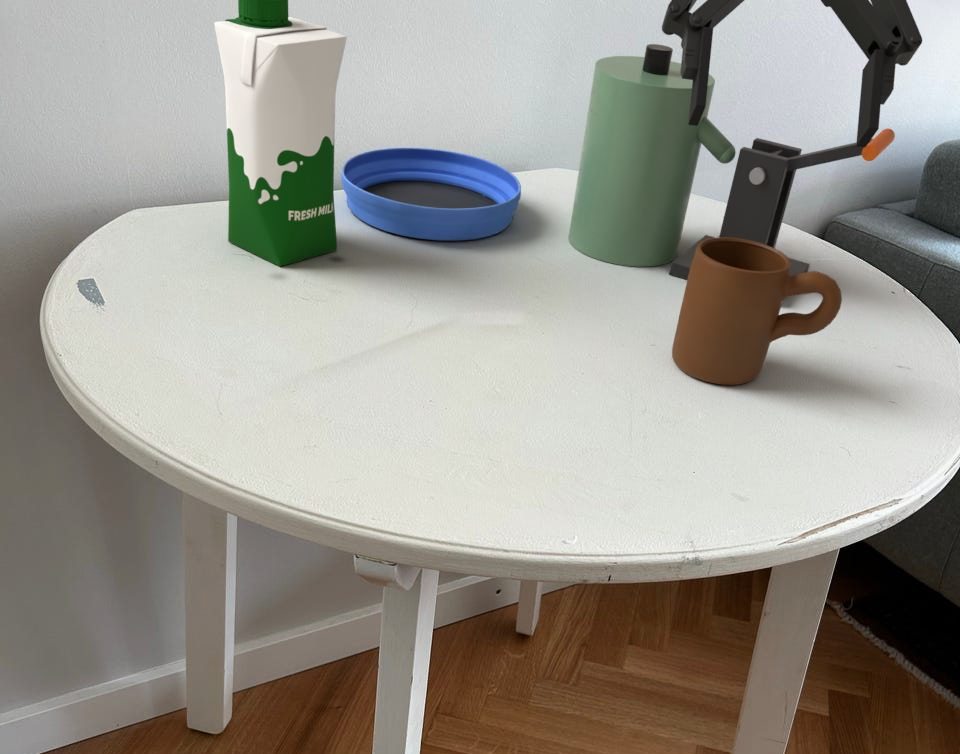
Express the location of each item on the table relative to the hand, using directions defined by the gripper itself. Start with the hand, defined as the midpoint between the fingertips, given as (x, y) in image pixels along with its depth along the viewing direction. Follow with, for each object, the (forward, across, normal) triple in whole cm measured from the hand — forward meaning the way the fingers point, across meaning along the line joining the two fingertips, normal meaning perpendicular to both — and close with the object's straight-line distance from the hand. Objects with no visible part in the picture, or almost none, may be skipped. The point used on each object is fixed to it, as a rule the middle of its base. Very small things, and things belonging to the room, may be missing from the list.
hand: (782, 127), depth 88 cm
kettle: (0, +7, -24) cm, 25 cm away
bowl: (-2, +28, -26) cm, 39 cm away
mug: (+18, 0, -6) cm, 19 cm away
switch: (-4, -7, -12) cm, 14 cm away
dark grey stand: (+2, -2, -21) cm, 22 cm away
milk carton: (+8, +41, -16) cm, 45 cm away
